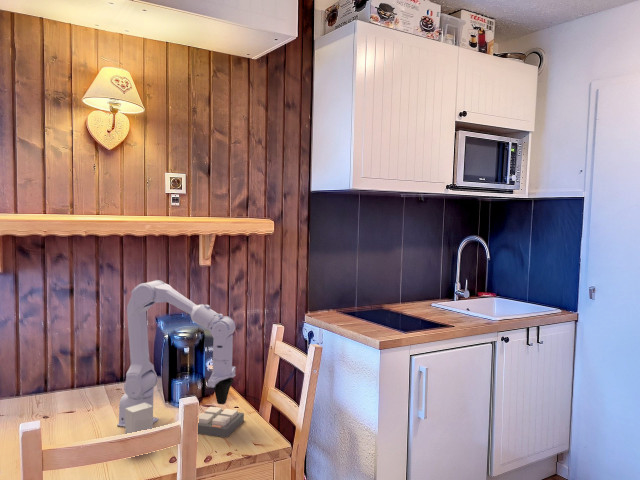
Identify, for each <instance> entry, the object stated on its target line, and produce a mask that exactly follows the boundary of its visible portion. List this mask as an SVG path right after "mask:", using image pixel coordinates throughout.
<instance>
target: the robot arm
mask: <svg viewBox="0 0 640 480" xmlns="http://www.w3.org/2000/svg"><path fill="white" fill-rule="evenodd" d="M157 303H158V304H159V303H161V304H162V303H168V304H170V305H172V306H174V307H176V308H177V309H180V310H181V311H183V312H185V313H186V314H189V316H190V319H191V321H192V322H194V323H195V324H197V325H199V326H200V327H202V328H203V329H205V330H207V331H208V332H209V333H210V335H211V336H212V338H213V340H212V341H213V345H212V372H211V373H210V374H211V375H210V377H209V379H208V380H207V387H208V388H212V390H213V392H214V395H215V398H216V403H217V404H218V405H222V406H223V405H225V404H226V402H227V399H228V396H229V395H228V394H229V392H230V389H231V386H232V385H233V382H234V378H235V377H236V366H233V353H234V352H233V348H234V347H233V343H234V342H233V339H234V338H233V337H234V336H233V334H234V332H235V330H236V322H235V320H234V319H233V318H232V317H230V316H227V315H226V316H224V314H223V313H217V312H216V310H213V309H211V305H209V304H204V303H203V304H196V303H194V302H193V301H191V299H189V298H187V297H186V296H185V295H183V294H181V293H180V292H179V291H177V290H176V289H174V287H172V286H171V285H170V284H168V283H165V282H164V281H163V280H159V279H154V280H152V281H147V282H143V283H139V284H137V285H136V286H135V287H134V288H133V289H132V290H131V296H130V298H129V301H128V303H127V306H126V317H127V329H128V330H127V331H128V343H129V359H130V366H129V368H128V370H127V371H126V374H125V376H126V378H125V382H124V385H123V390H124V394H123V395H122V397H121V398H120V400H119V404H118V408H119V409H118V422H117V426H119V427H122V428H123V427H124V428H125V408H128V407H132V406H135V405H138V404H141V403H144V402H145V403H147V404H149V405H151V406H153V407H154V389H155V388H154V387H156V385H157V384H158V380H159V379H158V375H157V372H156V371H155V365H154V364H153V363H152V362H151V361H150V348H149V336H148V322H147V321H148V320H147V319H148V318H147V312H148V310H149V309H151V307H153V305H154V304H157ZM159 420H160V418H158V417H155V416H153V424H155V423H156V422H158V421H159Z"/></svg>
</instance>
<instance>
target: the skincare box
mask: <svg viewBox="0 0 640 480" xmlns="http://www.w3.org/2000/svg"><path fill="white" fill-rule="evenodd" d="M153 417H154V405H153V406H151V405H149V404H147V403H145V402H144V403H141V404H138V405H135V406H132V407H128V408H125V427H124V435H125V434H127V433H132V432H137V431H141V430H147V429H152V428H153V429H154V423H153Z"/></svg>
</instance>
